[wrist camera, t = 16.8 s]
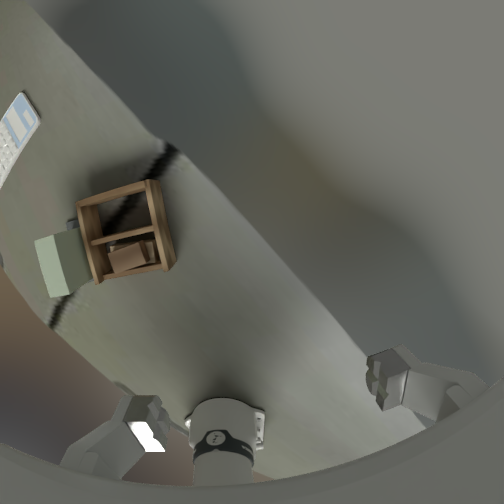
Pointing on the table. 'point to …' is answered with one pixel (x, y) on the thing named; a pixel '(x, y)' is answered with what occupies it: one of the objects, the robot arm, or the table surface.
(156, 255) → the offcut lower
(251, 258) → the table surface
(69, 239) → the sage green thick block
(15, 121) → the calculator
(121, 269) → the offcut upper
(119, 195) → the rack
